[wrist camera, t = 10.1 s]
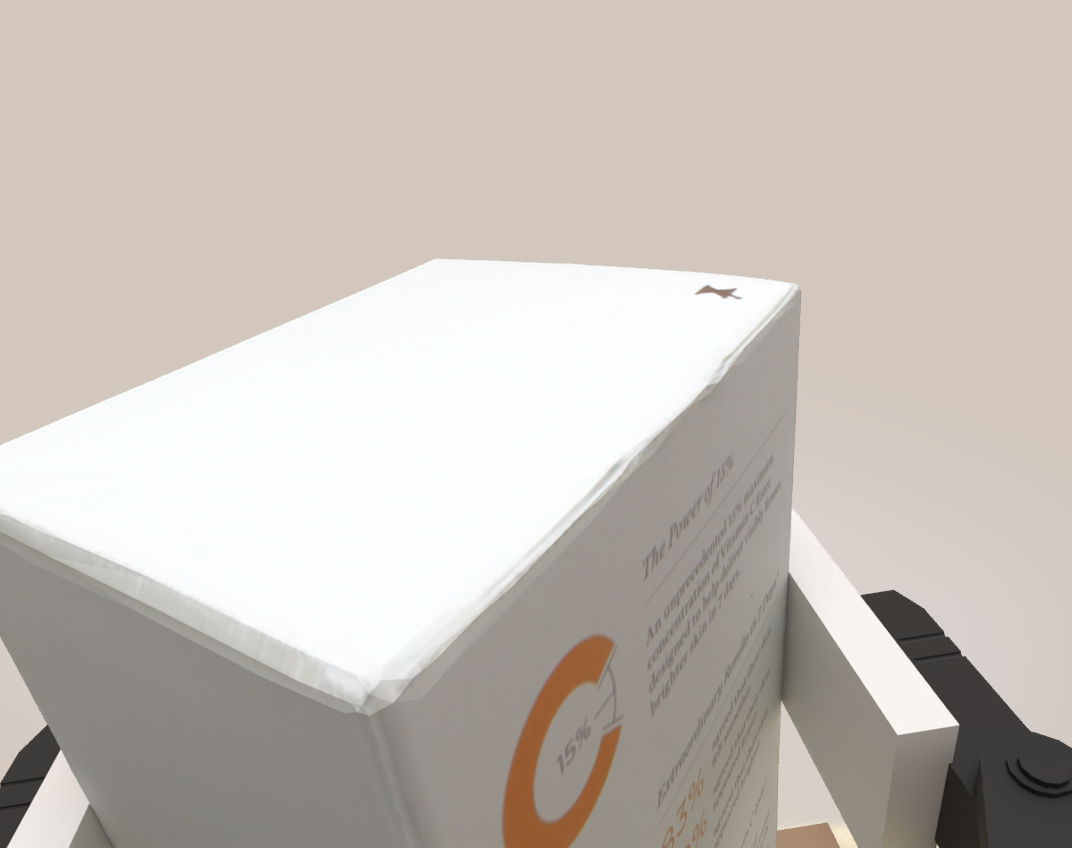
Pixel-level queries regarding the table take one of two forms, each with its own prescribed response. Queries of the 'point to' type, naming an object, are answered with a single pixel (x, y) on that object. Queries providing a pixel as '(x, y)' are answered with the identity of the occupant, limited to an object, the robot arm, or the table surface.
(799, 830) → the dock
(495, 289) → the small box
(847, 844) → the table surface
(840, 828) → the table surface
